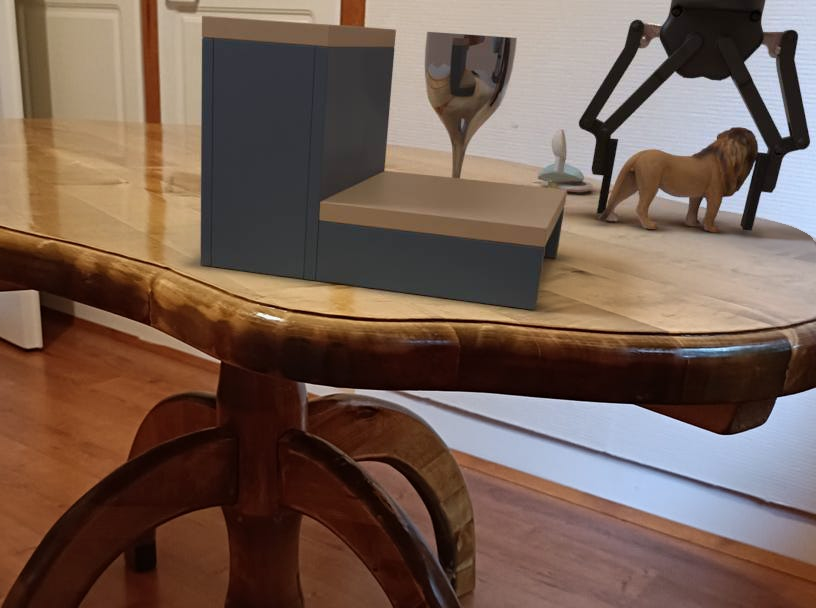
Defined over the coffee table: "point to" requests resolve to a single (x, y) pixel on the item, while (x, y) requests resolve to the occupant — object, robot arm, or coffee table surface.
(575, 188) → the pacifier
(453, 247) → the two-step block
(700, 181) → the lion figurine
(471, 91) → the wine glass
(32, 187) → the coffee table surface
